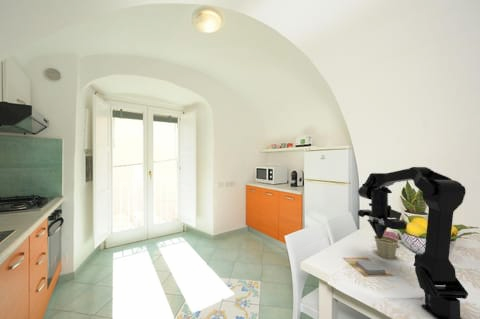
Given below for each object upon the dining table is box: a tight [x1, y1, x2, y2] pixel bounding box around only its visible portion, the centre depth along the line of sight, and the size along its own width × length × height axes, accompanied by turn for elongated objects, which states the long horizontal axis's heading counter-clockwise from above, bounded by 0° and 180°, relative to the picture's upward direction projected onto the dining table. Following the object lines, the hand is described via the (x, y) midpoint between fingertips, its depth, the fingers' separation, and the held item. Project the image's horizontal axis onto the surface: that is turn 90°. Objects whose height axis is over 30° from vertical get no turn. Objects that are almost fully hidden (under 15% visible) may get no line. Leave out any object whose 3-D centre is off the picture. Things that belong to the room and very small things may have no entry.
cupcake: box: [383, 228, 400, 241], centre depth 101 cm, size 9×8×12 cm
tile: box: [356, 260, 386, 274], centre depth 75 cm, size 2×7×7 cm
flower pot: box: [373, 234, 400, 259], centre depth 87 cm, size 9×9×9 cm
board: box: [342, 257, 394, 278], centre depth 77 cm, size 14×12×1 cm
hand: (379, 238), depth 78 cm, fingers closed
